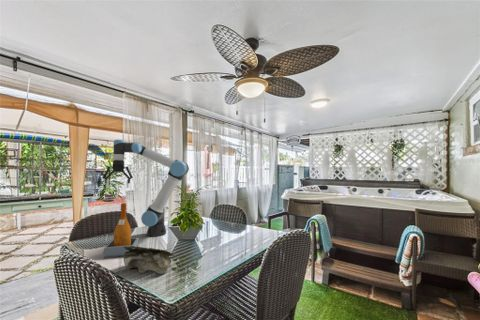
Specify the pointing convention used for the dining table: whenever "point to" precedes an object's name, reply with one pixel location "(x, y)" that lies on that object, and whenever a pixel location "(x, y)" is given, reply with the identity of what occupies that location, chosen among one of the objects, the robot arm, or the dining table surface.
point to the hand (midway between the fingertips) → (117, 187)
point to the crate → (118, 249)
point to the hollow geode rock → (147, 259)
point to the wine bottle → (122, 229)
